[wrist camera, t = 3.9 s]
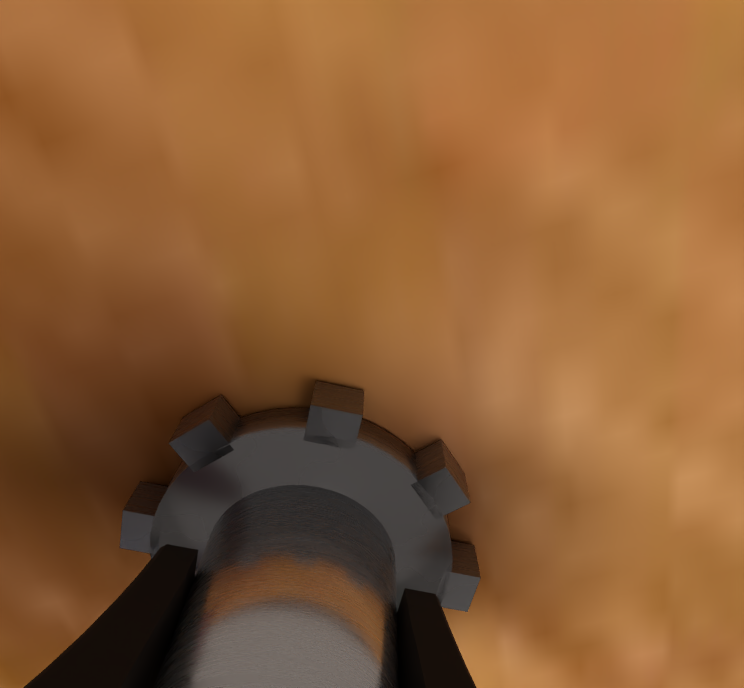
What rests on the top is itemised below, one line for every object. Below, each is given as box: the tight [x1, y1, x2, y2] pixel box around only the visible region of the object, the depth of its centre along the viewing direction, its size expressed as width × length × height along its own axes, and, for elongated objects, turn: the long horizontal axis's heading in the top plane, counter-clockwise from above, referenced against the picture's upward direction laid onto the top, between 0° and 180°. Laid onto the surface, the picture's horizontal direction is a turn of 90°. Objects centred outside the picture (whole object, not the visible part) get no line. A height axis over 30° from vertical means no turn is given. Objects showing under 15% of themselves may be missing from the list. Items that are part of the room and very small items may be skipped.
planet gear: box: [120, 381, 481, 688], centre depth 12 cm, size 8×8×6 cm
